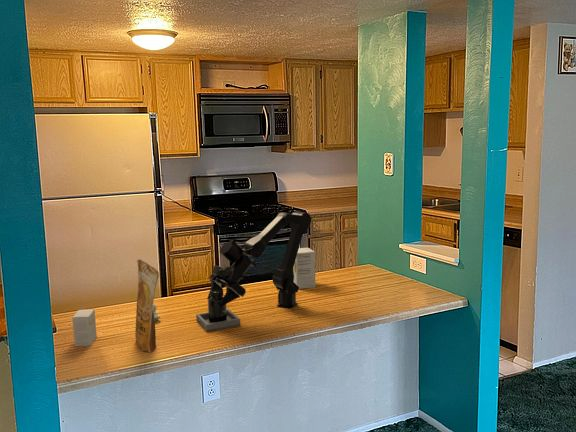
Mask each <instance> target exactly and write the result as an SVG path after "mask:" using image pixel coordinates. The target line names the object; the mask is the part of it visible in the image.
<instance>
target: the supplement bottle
mask: <svg viewBox="0 0 576 432" xmlns="http://www.w3.org/2000/svg"><path fill="white" fill-rule="evenodd" d="M209 292H210V296H211V297H210V298H209V299H208V300H207V307H208V308H207V310H208V311H207V312H208V316H209V322H210V323H214V322H220V321H226V320H227V309H228V308H227V304H225V305H224V306H222V307H220V306H219V304H220V302H221V300H222V299H223V297H224V295H225V294H224V289H223V290H222V289H213V290H211V291H210V290H209Z"/></svg>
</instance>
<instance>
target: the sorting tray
mask: <svg viewBox="0 0 576 432" xmlns="http://www.w3.org/2000/svg"><path fill="white" fill-rule="evenodd" d="M195 315H196V316H195V317H196V318H195V320H196V322H197V323H198V324H199V326H201V327H202V328H203V329H204V331H205V332H211V331H216V330H222V329H229V328H234V327H238V326H239V327H240V326H241V318H240V317H239V316H238V315H236V314H235V313H234V312H233V311H232V310H231V309H229V308H227V320H226V321H220V322H214V323H210V322H209V316H208V311H207V312H201V313H196V314H195Z"/></svg>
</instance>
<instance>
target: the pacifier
mask: <svg viewBox="0 0 576 432" xmlns="http://www.w3.org/2000/svg"><path fill="white" fill-rule="evenodd" d="M152 310H153V314H154V321H155V322H157V321H158V319H161V317H160V316H159V314H158V313H157V312H156V311H157V310H158V309H157V306H156V304H153V307H152Z"/></svg>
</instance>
